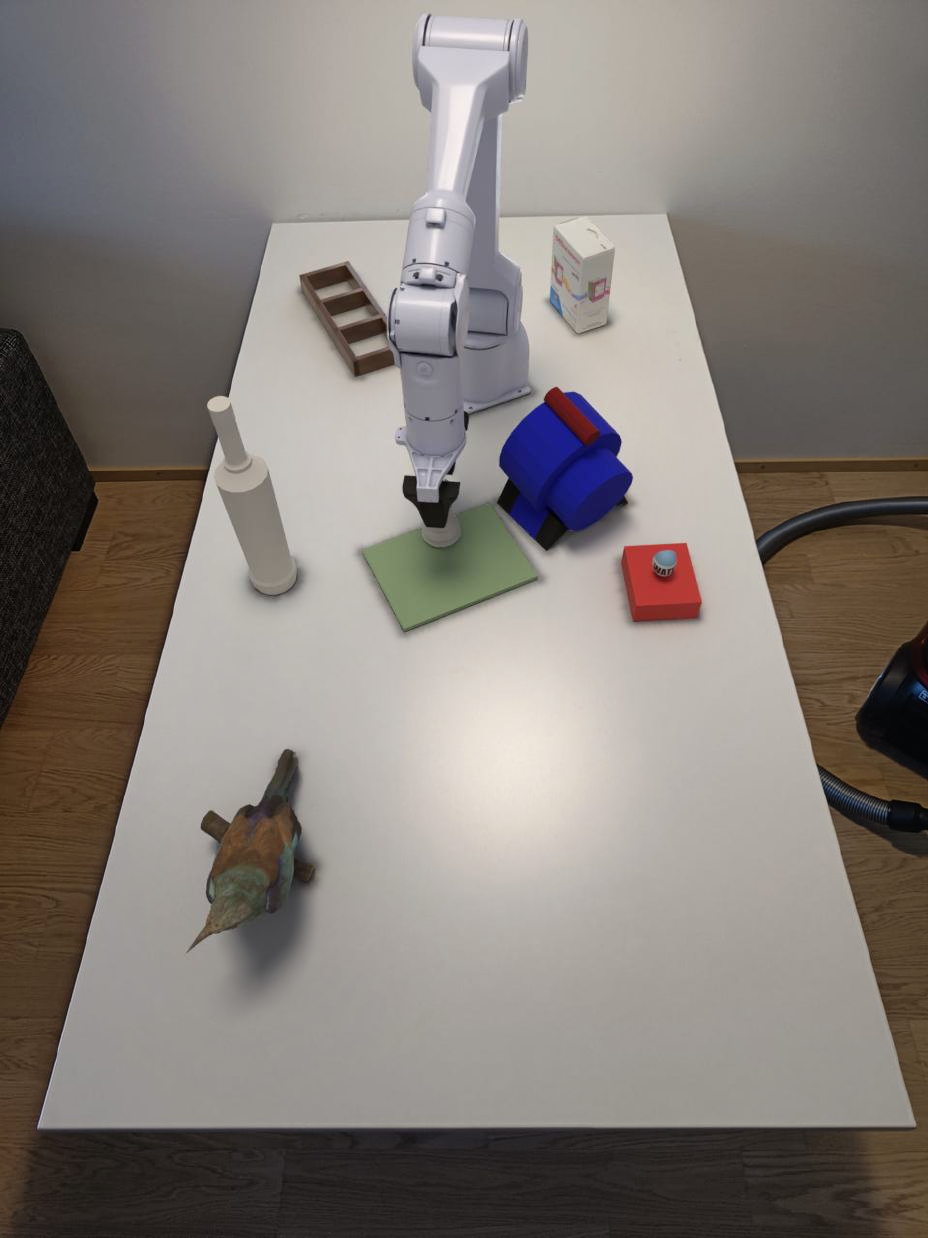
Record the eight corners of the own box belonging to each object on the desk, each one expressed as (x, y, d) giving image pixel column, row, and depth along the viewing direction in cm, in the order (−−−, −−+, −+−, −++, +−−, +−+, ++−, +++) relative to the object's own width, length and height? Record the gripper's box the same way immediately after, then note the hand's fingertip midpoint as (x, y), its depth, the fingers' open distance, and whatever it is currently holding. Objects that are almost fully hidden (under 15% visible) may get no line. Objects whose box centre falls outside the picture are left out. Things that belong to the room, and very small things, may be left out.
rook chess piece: (456, 552, 98) (454, 504, 92) (417, 546, 99) (412, 497, 93) (465, 523, 101) (463, 473, 94) (427, 517, 102) (423, 467, 95)
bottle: (290, 600, 96) (236, 427, 75) (245, 592, 97) (179, 420, 76) (304, 563, 99) (256, 387, 78) (260, 556, 100) (201, 380, 79)
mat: (489, 505, 103) (489, 502, 103) (537, 579, 97) (538, 575, 96) (362, 553, 100) (361, 549, 99) (404, 632, 93) (403, 629, 93)
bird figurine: (231, 745, 85) (151, 767, 65) (333, 750, 85) (284, 775, 65) (221, 885, 84) (138, 952, 64) (324, 892, 84) (272, 960, 64)
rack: (350, 275, 130) (348, 260, 128) (407, 359, 118) (406, 344, 116) (301, 290, 128) (298, 274, 126) (355, 376, 117) (352, 361, 115)
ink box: (546, 300, 125) (551, 222, 115) (577, 291, 126) (585, 212, 117) (576, 335, 121) (584, 256, 111) (607, 324, 122) (618, 246, 112)
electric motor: (572, 453, 108) (583, 353, 95) (640, 513, 102) (662, 415, 90) (492, 498, 104) (493, 399, 92) (559, 563, 98) (570, 467, 86)
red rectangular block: (696, 617, 94) (709, 581, 88) (632, 621, 93) (641, 585, 88) (681, 558, 98) (692, 521, 93) (621, 562, 98) (628, 524, 93)
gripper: (402, 349, 88) (411, 448, 99) (380, 452, 80) (393, 547, 91) (472, 352, 88) (474, 451, 99) (457, 456, 80) (461, 552, 91)
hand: (439, 498), depth 95 cm, fingers open, 7 cm apart
